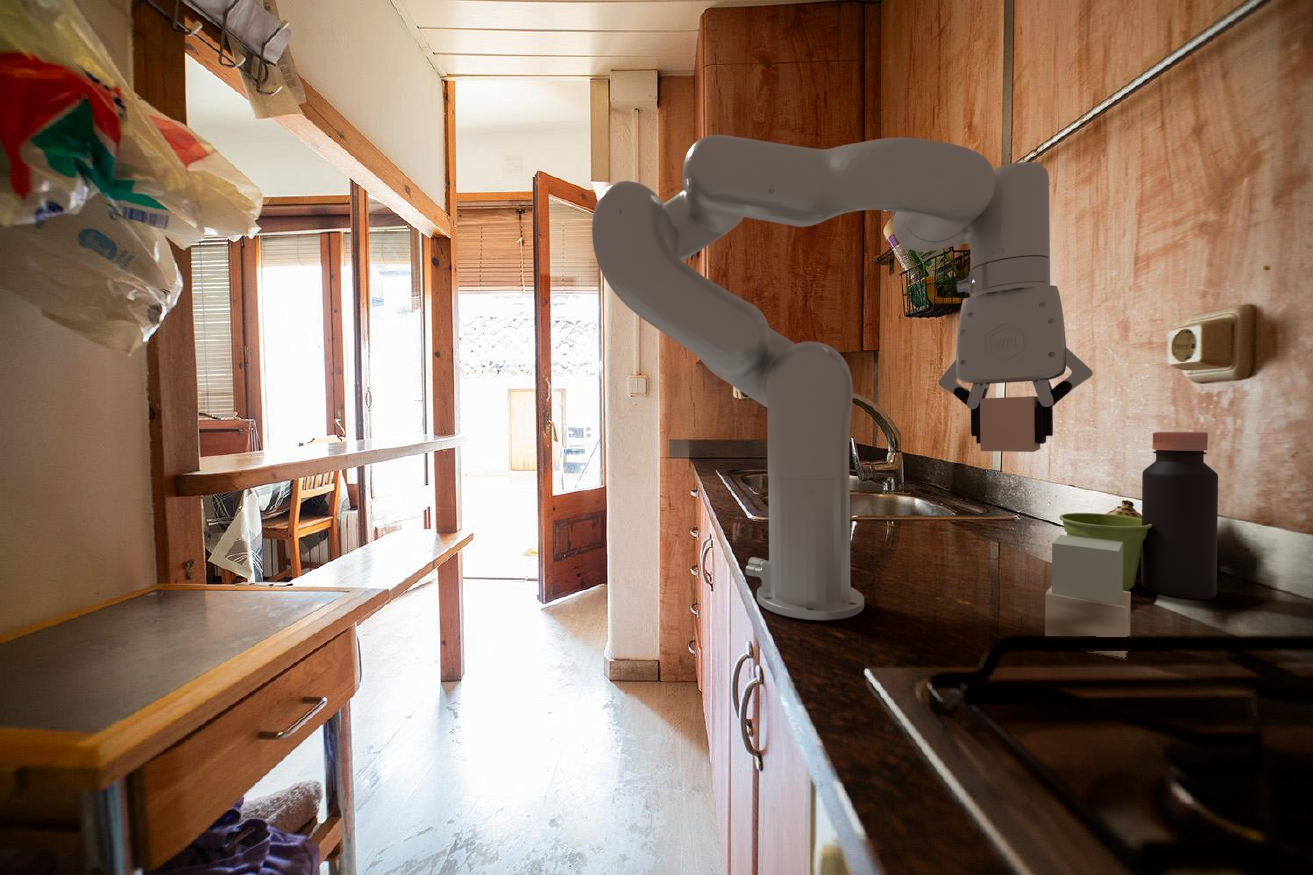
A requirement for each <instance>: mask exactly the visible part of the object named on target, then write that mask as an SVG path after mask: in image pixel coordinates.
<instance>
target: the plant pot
mask: <svg viewBox="0 0 1313 875" xmlns="http://www.w3.org/2000/svg"><path fill="white" fill-rule="evenodd" d="M1058 517H1059V520H1060V521H1061V522H1062V524H1063V529H1064V531H1065V532H1066V536H1075V537H1085V538H1094V539H1103V540H1112V541H1121V542H1123V591H1129V590H1130V589H1133V588H1135V582H1136V578H1137V573H1138V568H1139V563H1140V558H1141V551H1142V544H1143V540H1144V539H1145V538H1146V536H1147V532H1148V528H1151V527H1152V524H1148V525H1145V526H1142V518H1138V517H1134V516H1127V515H1119V514H1109V513H1095V512H1093V513H1092V512H1072V513H1063V514H1060V515H1059V516H1058Z"/></svg>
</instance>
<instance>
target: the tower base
mask: <svg viewBox="0 0 1313 875" xmlns="http://www.w3.org/2000/svg"><path fill="white" fill-rule="evenodd" d="M1131 593H1132V592H1131V591H1129V590H1125V591H1123V593H1122V595H1121V598H1120V601H1119V604H1118V605H1116V604H1110V603H1105V602H1099V601H1093V600H1087V599H1082V598H1076V597H1070V596H1064V595H1058V594H1053V593H1052V585H1051V586H1049V588H1048V590H1046V592H1045V593H1044V597H1045V598H1044V599H1045V602H1044V603H1045V604H1044V607H1045V608H1044V609H1045V610H1044V637H1045V636H1096V637H1127V636H1130V637H1131ZM1087 653H1089V654H1092V653H1100V654H1104V655H1113V656H1119V657H1123V658H1125V657H1126V658H1127V655H1126V653H1127V654H1128V651H1094V652H1087Z"/></svg>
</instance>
